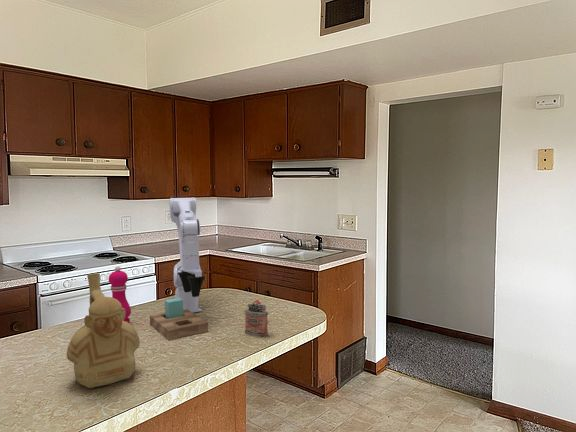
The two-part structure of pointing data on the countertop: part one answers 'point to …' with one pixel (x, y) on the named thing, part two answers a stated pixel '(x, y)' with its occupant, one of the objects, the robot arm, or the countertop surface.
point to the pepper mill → (120, 289)
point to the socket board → (179, 325)
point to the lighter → (256, 320)
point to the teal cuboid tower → (173, 308)
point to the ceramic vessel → (103, 341)
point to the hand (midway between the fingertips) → (191, 294)
